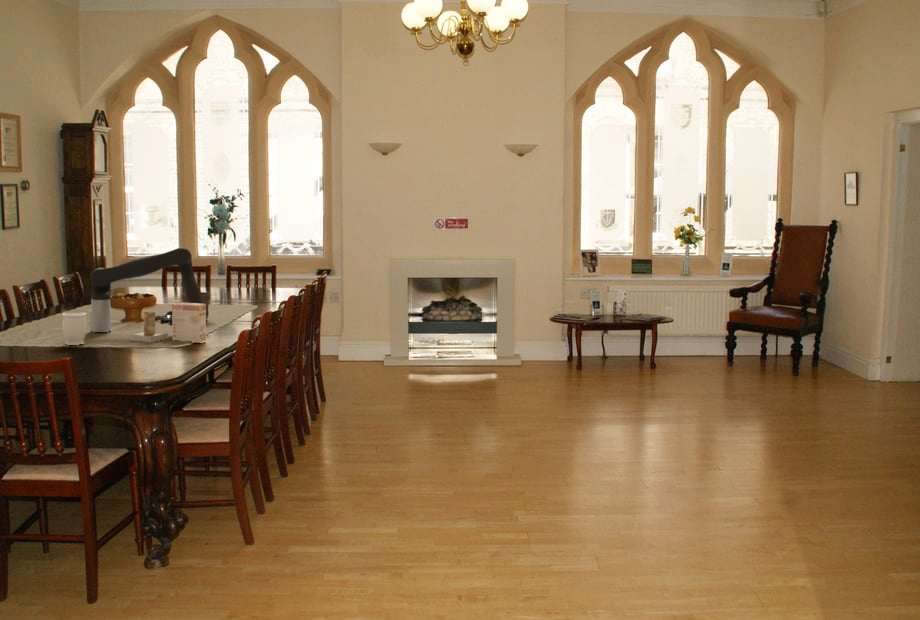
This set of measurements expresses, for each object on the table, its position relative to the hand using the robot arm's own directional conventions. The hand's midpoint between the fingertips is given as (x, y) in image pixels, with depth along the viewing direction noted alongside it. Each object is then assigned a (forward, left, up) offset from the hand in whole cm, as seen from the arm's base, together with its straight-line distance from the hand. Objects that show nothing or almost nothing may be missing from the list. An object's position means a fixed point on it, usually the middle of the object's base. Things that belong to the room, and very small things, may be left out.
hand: (154, 321), depth 440 cm
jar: (-23, -28, -10) cm, 38 cm away
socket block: (0, -3, -10) cm, 11 cm away
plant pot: (-28, +64, -10) cm, 70 cm away
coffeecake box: (+16, +7, -10) cm, 20 cm away
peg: (0, -3, -9) cm, 10 cm away
